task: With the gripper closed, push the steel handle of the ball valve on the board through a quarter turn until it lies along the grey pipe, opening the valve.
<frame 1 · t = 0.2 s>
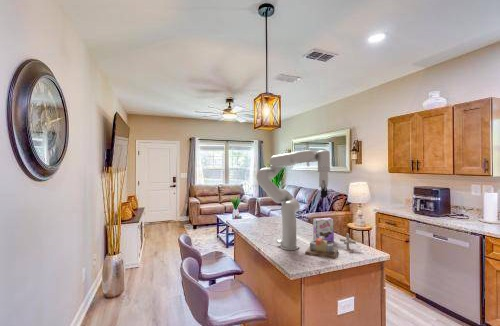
hand: (324, 196, 162), 36 cm above the countertop, tool pointing down, fingers open, 9 cm apart
pipe connector: (347, 249, 169), on the countertop
candy box: (323, 241, 187), on the countertop
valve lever: (320, 240, 157), point 10 cm above the countertop, hinge at -90.0°
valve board: (321, 253, 161), on the countertop
ball valve: (321, 245, 161), point 5 cm above the countertop
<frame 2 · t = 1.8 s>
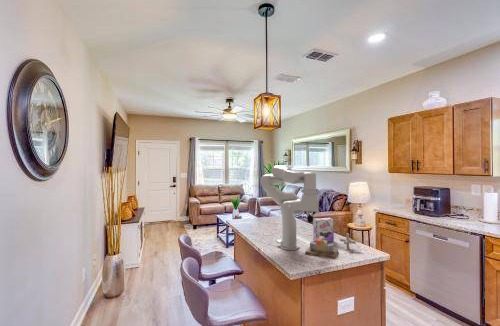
hand: (310, 222, 156), 21 cm above the countertop, tool pointing down, fingers closed
nothing on the countertop moved.
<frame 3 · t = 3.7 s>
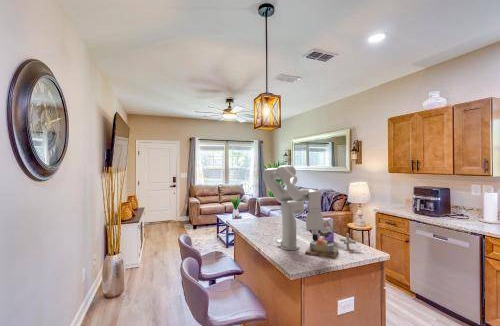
hand: (315, 240, 154), 10 cm above the countertop, tool pointing down, fingers closed
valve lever: (320, 240, 157), point 10 cm above the countertop, hinge at -85.0°, touching gripper
everything else where it was.
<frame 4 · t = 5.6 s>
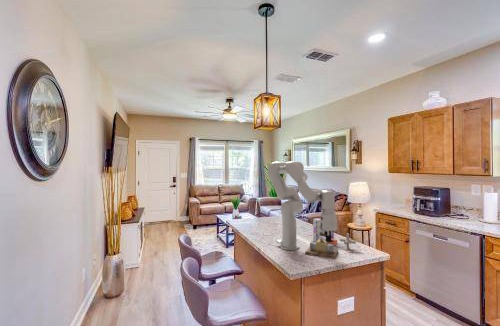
hand: (328, 241, 152), 10 cm above the countertop, tool pointing down, fingers closed
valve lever: (327, 239, 157), point 10 cm above the countertop, hinge at -35.0°, touching gripper
everything else where it was.
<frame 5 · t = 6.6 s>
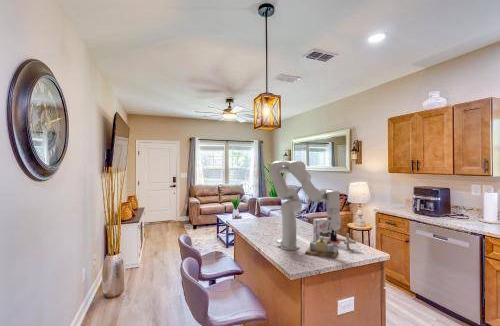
hand: (333, 241, 154), 10 cm above the countertop, tool pointing down, fingers closed
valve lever: (329, 239, 158), point 10 cm above the countertop, hinge at -11.7°, touching gripper
everything else where it was.
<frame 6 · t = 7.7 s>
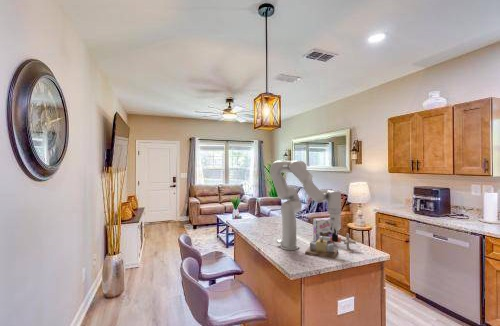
hand: (335, 241, 154), 10 cm above the countertop, tool pointing down, fingers closed
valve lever: (329, 238, 159), point 10 cm above the countertop, hinge at 1.1°
everything else where it was.
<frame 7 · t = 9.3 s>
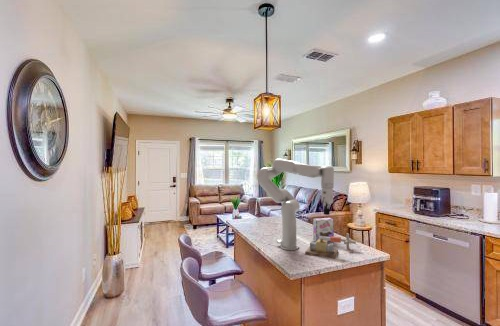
hand: (326, 214, 162), 24 cm above the countertop, tool pointing down, fingers closed
nothing on the countertop moved.
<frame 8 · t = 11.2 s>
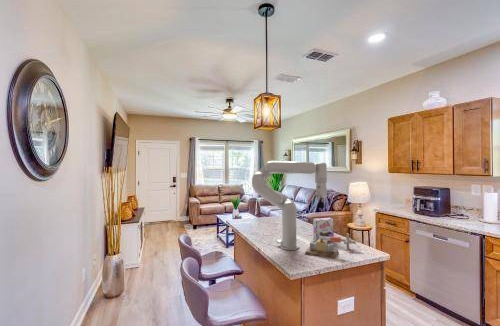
hand: (321, 207, 172), 27 cm above the countertop, tool pointing down, fingers closed
nothing on the countertop moved.
at the end: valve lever at +1° (first picture: -90°) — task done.
